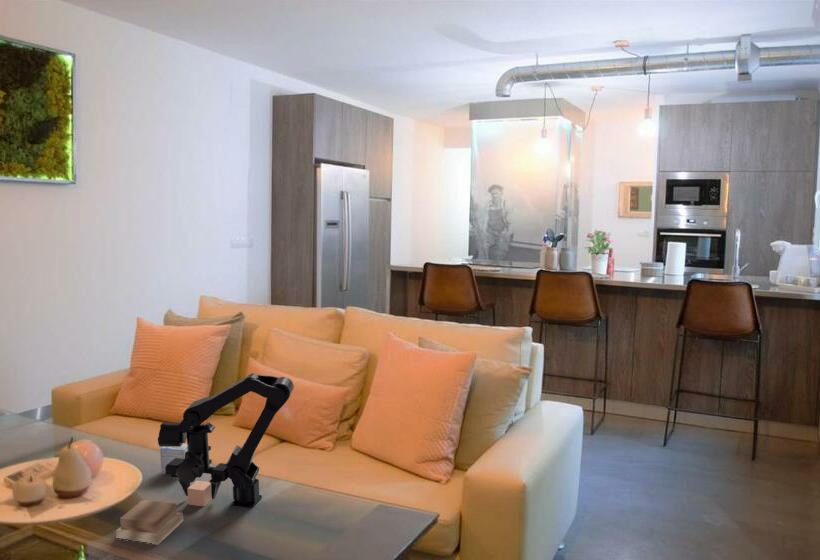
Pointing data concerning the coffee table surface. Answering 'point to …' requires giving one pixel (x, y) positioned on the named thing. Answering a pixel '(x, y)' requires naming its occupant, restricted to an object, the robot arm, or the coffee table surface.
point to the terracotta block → (199, 493)
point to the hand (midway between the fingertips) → (200, 497)
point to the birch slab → (151, 537)
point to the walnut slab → (148, 516)
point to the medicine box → (171, 455)
